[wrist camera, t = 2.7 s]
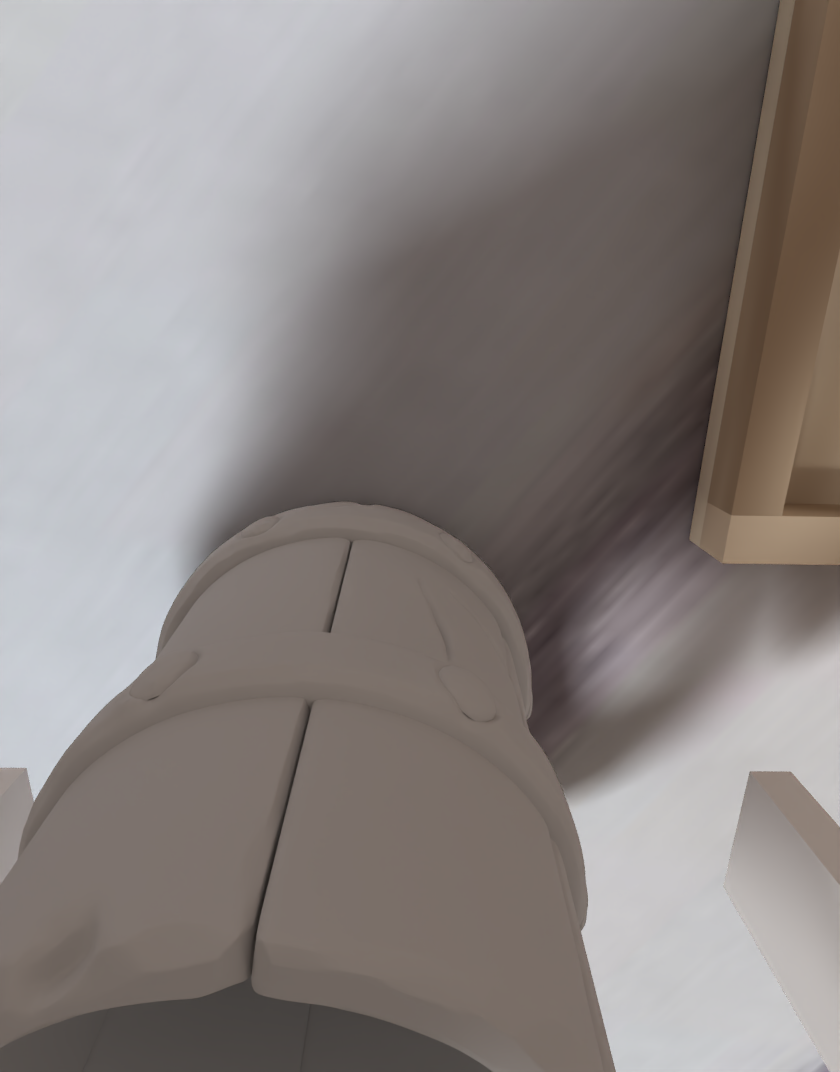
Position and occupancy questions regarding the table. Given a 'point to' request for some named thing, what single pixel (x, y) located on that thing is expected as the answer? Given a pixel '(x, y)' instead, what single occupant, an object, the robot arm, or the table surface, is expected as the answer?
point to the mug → (309, 832)
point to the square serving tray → (783, 322)
